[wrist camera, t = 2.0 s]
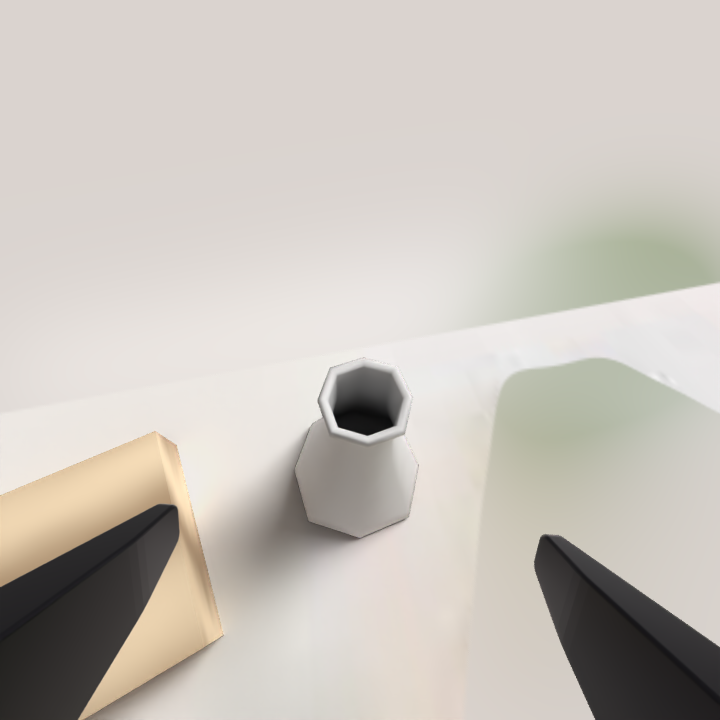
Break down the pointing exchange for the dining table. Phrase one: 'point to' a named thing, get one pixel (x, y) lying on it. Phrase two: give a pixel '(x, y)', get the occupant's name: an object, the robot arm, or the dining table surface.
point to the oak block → (99, 514)
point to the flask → (359, 450)
